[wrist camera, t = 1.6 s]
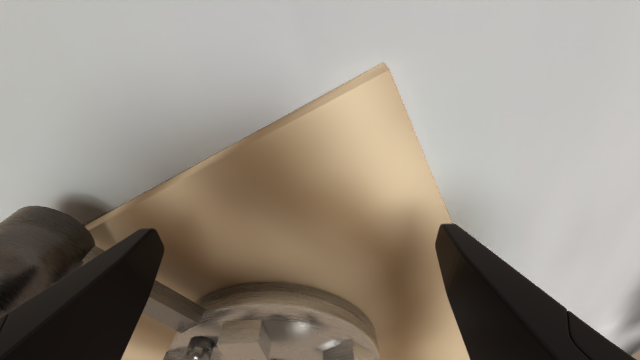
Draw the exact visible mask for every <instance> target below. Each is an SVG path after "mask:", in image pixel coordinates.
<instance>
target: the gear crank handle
mask: <svg viewBox="0 0 640 360" xmlns="http://www.w3.org/2000/svg"><path fill="white" fill-rule="evenodd" d="M103 252H104V250H102V249H101V248H99V247H97V246H95V241H94V238H93V236H92V235H91V233H90V232H89V231H88V230H87V229H86V227H84V226H83V225H82V224H81V223H80V222H78V221H77V220H76V219H74V218H72V217H71V216H69V215H67V214H65V213H63V212H60V211H58V210H55V209H51V208H47V207H41V206H28V207H24V208H21V209H19V210H17V211H16V212H15V213H13V214H12V215H11V216H9V217H8V218H7V219H5V220H4V221H3V222H1V223H0V318H1V317H2V316H4V315H5V314H9V313H10V311H12V310H13V309H15V308H16V307H18V306H20V305H21V304H23V303H24V302H26V301H27V300H29V299H31V298H32V297H34V296H35V295H37V294H38V293H40V292H42V291H43V290H45V289H46V288H48V287H49V286H51V285H53V284H54V283H56V282H57V281H59V280H60V279H62V278H64V277H65V276H67V275H68V274H70V273H71V272H73V271H75V270H76V269H78V268H79V267H81V266H82V265H84V264H86V263H87V262H89V261H90V260H92V259H93V258H95V257H97V256H98V255H100V254H101V253H103ZM142 314H144V315H146V316H148V317H150V318H152V319H154V320H156V321H158V322H160V323H162V324H164V325H166V326H168V327H170V328H172V329H174V330H176V331H177V332H176V334H175V336H174V339H173V341H172V343H171V346H170V348H169V350H168V352H166V354H165V356H164V358H163V360H380V354H379V347H378V340H377V334H376V330H375V328H374V326H373V324H372V322H371V321H370V319H369V318H368V317H367V316H366V315H365V314H364V313H363V312H362V311H361V310H360V309H359V308H357V307H356V306H354V305H353V304H351V303H350V302H348V301H346V300H344V299H342V298H340V297H338V296H336V295H333V294H331V293H328V292H326V291H322V290H319V289H315V288H312V287H307V286H302V285H296V284H288V283H274V282H262V283H248V284H240V285H235V286H230V287H226V288H223V289H220V290H217V291H214V292H211V293H209V294H207V295H205V296H203V297H202V298H200V299H199V300H197V301H196V302H193V301H191V300H190V299H188V298H186V297H184V296H183V295H181V294H179V293H177V292H176V291H174V290H172V289H170V288H169V287H167V286H165V285H163V284H162V283H160V282H158V281H156V280H155V282H154V285H153V288H152V291H151V293H150V296H149V299H148V301H147V303H146V306H145V308H144V310H143V312H142Z"/></svg>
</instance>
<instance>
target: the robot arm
mask: <svg viewBox="0 0 640 360" xmlns="http://www.w3.org/2000/svg"><path fill="white" fill-rule="evenodd" d="M435 249H436V254H437V258H438V262H439V266H440V270H441V274H442V278H443V282H444V287H445V290H446V294H447V297H448V300H449V303H450V306H451V309H452V311H453V314H454V317H455V320H456V322H457V325H458V328H459V330H460V333H461V336H462V339H463V341H464V344H465V347H466V349H467V352H468V355H469V358H470V360H636V359H635V358H633V357H632V356H630V355H629V354H628V353H626V352H625V351H623V350H622V349H620V348H619V347H617V346H616V345H615V344H613V343H612V342H610V341H609V340H608V339H606V338H605V337H604V336H602V335H601V334H600V333H598V332H597V331H595V330H594V329H593V328H591V327H590V326H589V325H587V324H586V323H585V322H583V321H582V320H581V319H579V318H578V317H577V316H575V315H574V314H573V313H572V312H570V311H567V309H566V308H565V307H564V306H562V305H561V304H560V303H558V302H557V301H556V300H554V299H553V298H552V297H550V296H549V295H548V294H547V293H545V292H544V291H543V290H541V289H540V288H539V287H537V286H536V285H535V284H533V283H532V282H531V281H530V280H528V279H527V278H526V277H524V276H523V275H522V274H520V273H519V272H518V271H516V270H515V269H514V268H513V267H511V266H510V265H509V264H507V263H506V262H505V261H503V260H502V259H501V258H499V257H498V256H497V255H496V254H494V253H493V252H492V251H490V250H489V249H488V248H486V247H485V246H484V245H482V244H481V243H480V242H479V241H477V240H476V239H475V238H473V237H472V236H471V235H469V234H468V233H467V232H465V231H464V230H463V229H462V228H460V227H459V226H458V225H456V224H453V223H445V224H441V225H440V227H439V230H438V234H437V238H436V242H435ZM163 255H164V244H163V242H162V240H161V238H160V236H159V234H158V232H157V230H156V229H154V228H141V229H139V230H137V231H136V232H134V233H133V234H131V235H129V236H128V237H126V238H125V239H123V240H122V241H120V242H118V243H117V244H115V245H114V246H112V247H111V248H109V249H108V250H106V251H104V252H103V253H101V254H100V255H98V256H97V257H95V258H93V259H92V260H90V261H89V262H87V263H86V264H84V265H82V266H81V267H79V268H78V269H76V270H75V271H73V272H71V273H70V274H68V275H67V276H65V277H64V278H62V279H60V280H59V281H57V282H56V283H54V284H53V285H51V286H49V287H48V288H46V289H45V290H43V291H42V292H40V293H38V294H37V295H35V296H34V297H32V298H31V299H29V300H27V301H26V302H24V303H23V304H21V305H20V306H18V307H16V308H15V309H13V310H12V311H10V313H9V314H5V315H4V316H2V317H1V318H0V360H121V358H122V356H123V354H124V352H125V350H126V347H127V345H128V343H129V341H130V339H131V336H132V334H133V332H134V330H135V328H136V325H137V323H138V321H139V319H140V317H141V314H142V312H143V310H144V308H145V306H146V303H147V301H148V299H149V296H150V293H151V291H152V288H153V285H154V282H155V279H156V276H157V273H158V270H159V267H160V264H161V261H162V258H163Z"/></svg>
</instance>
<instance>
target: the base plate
mask: <svg viewBox="0 0 640 360" xmlns="http://www.w3.org/2000/svg"><path fill="white" fill-rule="evenodd" d="M445 223H452V221H451V219H450V217H449V214H448V212H447V209H446V207H445V204H444V202H443V199H442V197H441V194H440V192H439V190H438V187H437V185H436V182H435V180H434V177H433V175H432V172H431V170H430V167H429V165H428V163H427V160H426V158H425V155H424V153H423V150H422V148H421V145H420V143H419V141H418V138H417V136H416V133H415V131H414V128H413V126H412V123H411V121H410V118H409V116H408V114H407V111H406V109H405V106H404V104H403V101H402V99H401V96H400V94H399V91H398V89H397V87H396V84H395V82H394V79H393V77H392V74H391V72H390V69H389V68H388V67H387V65H386V64H385V63H384V62H383V63H381V64H380V65H378V66H376V67H374V68H372V69H370V70H369V71H367V72H365V73H363V74H361V75H359V76H358V77H356V78H354V79H352V80H350V81H348V82H347V83H345V84H343V85H341V86H339V87H338V88H336V89H334V90H332V91H330V92H328V93H327V94H325V95H323V96H321V97H319V98H317V99H316V100H314V101H312V102H310V103H308V104H306V105H305V106H303V107H301V108H299V109H297V110H295V111H294V112H292V113H290V114H288V115H286V116H284V117H283V118H281V119H279V120H277V121H275V122H273V123H272V124H270V125H268V126H266V127H264V128H262V129H261V130H259V131H257V132H255V133H253V134H251V135H250V136H248V137H246V138H244V139H242V140H240V141H239V142H237V143H235V144H233V145H231V146H230V147H228V148H226V149H224V150H222V151H220V152H219V153H217V154H215V155H213V156H211V157H209V158H208V159H206V160H204V161H202V162H200V163H198V164H197V165H195V166H193V167H191V168H189V169H187V170H186V171H184V172H182V173H180V174H178V175H176V176H175V177H173V178H171V179H169V180H167V181H165V182H164V183H162V184H160V185H158V186H156V187H154V188H153V189H151V190H149V191H147V192H145V193H143V194H142V195H140V196H138V197H136V198H134V199H132V200H131V201H129V202H127V203H125V204H123V205H122V206H120V207H118V208H116V209H114V210H112V211H111V212H109V213H107V214H105V215H103V216H101V217H100V218H98V219H96V220H94V221H92V222H90V223H89V224H87V225H85V226H84V227H86V229H87V230H88V231H89V232H90V233H91V235H92V236H93V238H94V241H95V246H97V247H99V248H101V249H102V250H104V251H106V250H108V249H109V248H111V247H112V246H114V245H115V244H117V243H118V242H120V241H122V240H123V239H125V238H126V237H128V236H129V235H131V234H133V233H134V232H136V231H137V230H139V229H141V228H154V229H156V230H157V232H158V234H159V236H160V238H161V240H162V242H163V244H164V255H163V258H162V261H161V264H160V267H159V270H158V273H157V276H156V279H155V280H156V281H158V282H160V283H162V284H163V285H165V286H167V287H169V288H170V289H172V290H174V291H176V292H177V293H179V294H181V295H183V296H184V297H186V298H188V299H190V300H191V301H193V302H196V301H197V300H199V299H200V298H202V297H203V296H205V295H207V294H209V293H211V292H214V291H217V290H220V289H223V288H226V287H230V286H235V285H240V284H248V283H262V282H274V283H288V284H296V285H302V286H307V287H312V288H315V289H319V290H322V291H326V292H328V293H331V294H333V295H336V296H338V297H340V298H342V299H344V300H346V301H348V302H350V303H351V304H353V305H354V306H356V307H357V308H359V309H360V310H361V311H362V312H363V313H364V314H365V315H366V316H367V317H368V318H369V319H370V321H371V322H372V324H373V326H374V328H375V330H376V334H377V340H378V347H379V354H380V360H470V358H469V355H468V352H467V349H466V347H465V344H464V341H463V339H462V336H461V333H460V330H459V328H458V325H457V322H456V320H455V317H454V314H453V311H452V309H451V306H450V303H449V300H448V297H447V294H446V290H445V287H444V282H443V278H442V274H441V270H440V266H439V262H438V258H437V254H436V249H435V242H436V238H437V234H438V230H439V227H440V225H441V224H445ZM176 332H177V331H176V330H174V329H172V328H170V327H168V326H166V325H164V324H162V323H160V322H158V321H156V320H154V319H152V318H150V317H148V316H146V315H144V314H141V317H140V319H139V321H138V323H137V325H136V328H135V330H134V332H133V334H132V336H131V339H130V341H129V343H128V345H127V347H126V350H125V352H124V354H123V356H122V358H121V360H163V358H164V356H165V354H166V352H168V350H169V348H170V346H171V343H172V341H173V339H174V336H175V334H176Z"/></svg>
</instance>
